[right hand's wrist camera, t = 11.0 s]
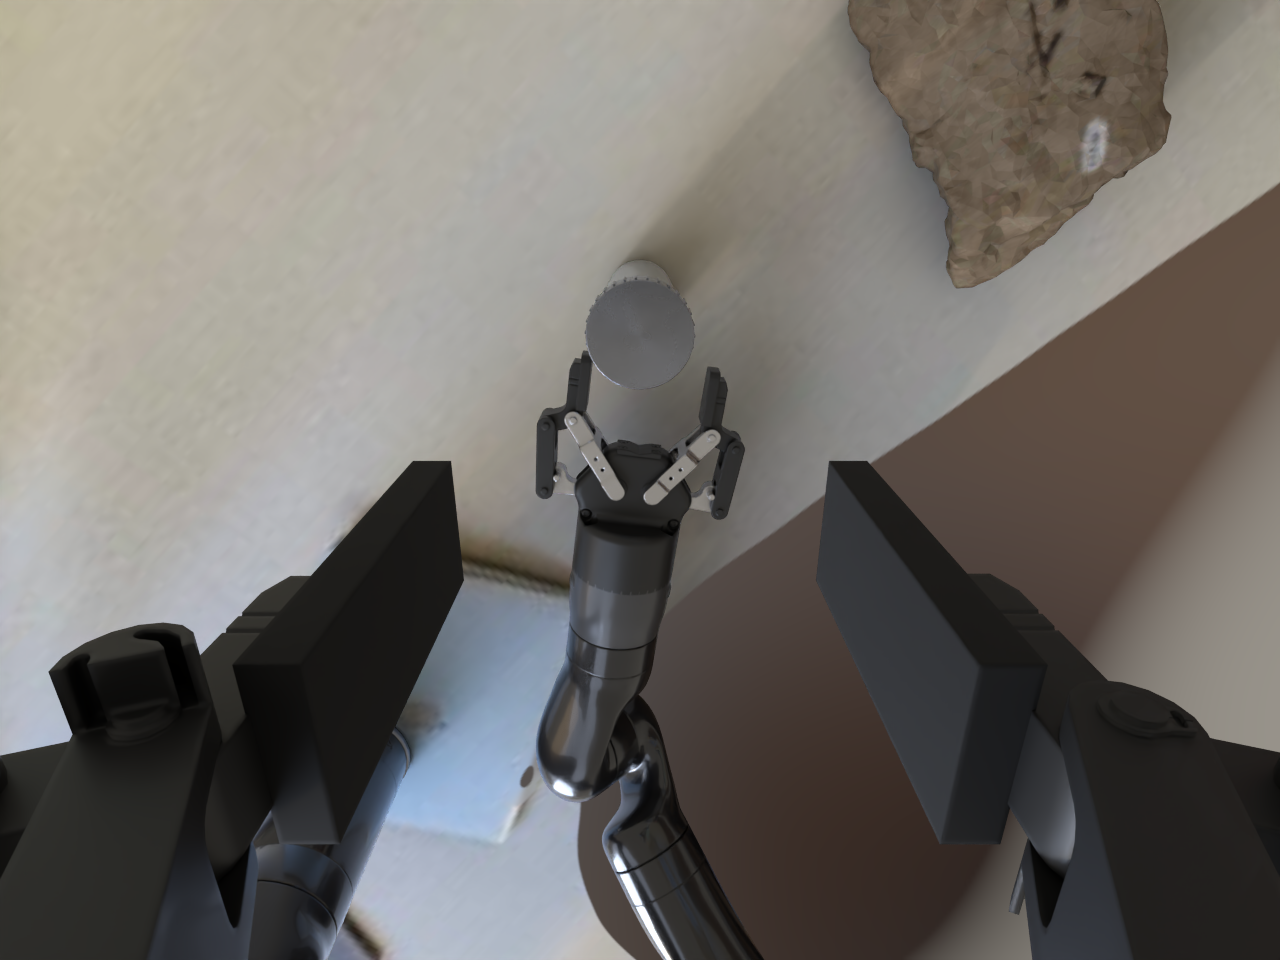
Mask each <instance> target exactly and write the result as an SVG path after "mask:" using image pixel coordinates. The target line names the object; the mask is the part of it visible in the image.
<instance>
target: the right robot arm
mask: <svg viewBox="0 0 1280 960" xmlns="http://www.w3.org/2000/svg"><path fill="white" fill-rule="evenodd" d="M463 581H464V577H463V568H462V558H461V549H460V540H459V531H458V522H457V512H456V503H455V494H454V485H453V476H452V467H451V461H413V462H412V463H411V464H410V465H409V466H408V467H407V468H406V470H405V471H404V472H403V473H402V474H401V475H400V476H399V477H398V479H397V480H396V481H395V482H394V483H393V484H392V485H391V486H390V488H389V489H388V490H387V491H386V492H385V493H384V494H383V495H382V497H381V498H380V499H379V500H378V501H377V502H376V503H375V504H374V506H373V507H372V508H371V509H370V510H369V511H368V512H367V513H366V515H365V516H364V517H363V518H362V519H361V520H360V521H359V522H358V524H357V525H356V526H355V527H354V528H353V529H352V530H351V531H350V533H349V534H348V535H347V536H346V537H345V538H344V539H343V540H342V542H341V543H340V544H339V545H338V546H337V547H336V548H335V549H334V551H333V552H332V553H331V554H330V555H329V556H328V557H327V558H326V560H325V561H324V562H323V563H322V564H321V565H320V566H319V567H318V569H317V570H316V571H315V572H314V573H313V574H312V575H311V576H290V577H288V578H286V579H285V580H283V581H281V582H279V583H278V584H276V585H274V586H272V587H271V588H269V589H267V590H265V591H264V592H262V593H261V594H260V595H259V596H258V597H257V598H256V599H255V600H254V601H253V602H252V603H251V604H250V605H249V606H248V607H247V608H246V609H245V610H244V611H243V612H242V616H238V617H237V618H236V619H235V620H234V621H233V622H232V623H231V624H230V625H229V627H228V628H227V629H226V633H222V634H221V635H220V636H219V637H218V638H217V639H216V640H215V641H214V642H213V643H212V644H211V645H210V646H209V647H208V648H207V649H206V650H205V651H204V652H203V653H202V654H201V655H200V654H199V650H198V647H197V643H196V640H195V636H194V633H193V632H192V631H191V630H189V629H188V628H186V627H185V626H183V625H178V624H170V623H155V624H144V625H137V626H133V627H129V628H126V629H122V630H118V631H114V632H111V633H108V634H106V635H104V636H101V637H99V638H96V639H94V640H91V641H89V642H87V643H84V644H83V645H81V646H80V647H78V648H76V649H75V650H73V651H72V652H70V653H68V654H67V655H65V656H64V657H62V658H61V659H60V660H59V661H58V662H57V663H56V664H55V666H54V667H53V668H52V669H51V670H50V671H49V675H50V677H51V680H52V682H53V685H54V687H55V690H56V693H57V695H58V698H59V700H60V703H61V706H62V708H63V711H64V713H65V716H66V718H67V721H68V724H69V726H70V729H71V731H72V734H73V735H72V737H71V739H70V741H69V742H64V743H60V744H55V745H50V746H45V747H40V748H35V749H30V750H26V751H21V752H16V753H11V754H6V755H1V756H0V960H248V954H249V945H250V937H251V929H252V920H253V912H254V904H255V895H256V887H257V878H258V870H259V866H258V860H257V854H256V850H255V847H254V843H253V838H254V837H255V835H256V834H257V832H258V830H259V829H260V827H261V825H262V824H263V822H264V820H265V819H266V817H267V816H268V814H269V812H270V811H271V813H272V817H273V821H274V825H275V828H276V832H277V836H278V840H279V843H280V844H340V843H341V841H342V839H343V836H344V834H345V832H346V830H347V828H348V826H349V824H350V822H351V819H352V817H353V815H354V813H355V811H356V809H357V807H358V805H359V802H360V800H361V798H362V796H363V794H364V792H365V790H366V787H367V785H368V783H369V781H370V779H371V777H372V775H373V773H374V770H375V768H376V766H377V764H378V762H379V760H380V758H381V756H382V753H383V751H384V749H385V747H386V745H387V743H388V741H389V739H390V736H391V734H392V732H393V730H394V728H395V726H396V724H397V722H398V719H399V717H400V715H401V713H402V711H403V709H404V707H405V704H406V702H407V700H408V698H409V696H410V694H411V692H412V690H413V687H414V685H415V683H416V681H417V679H418V677H419V675H420V673H421V670H422V668H423V666H424V664H425V662H426V660H427V658H428V656H429V653H430V651H431V649H432V647H433V645H434V643H435V641H436V639H437V636H438V634H439V632H440V630H441V628H442V626H443V624H444V621H445V619H446V617H447V615H448V613H449V611H450V609H451V607H452V604H453V602H454V600H455V598H456V596H457V594H458V592H459V590H460V587H461V585H462V583H463ZM816 581H817V583H818V585H819V587H820V590H821V592H822V594H823V596H824V598H825V600H826V602H827V604H828V607H829V609H830V611H831V613H832V615H833V617H834V619H835V621H836V624H837V626H838V628H839V630H840V632H841V634H842V636H843V639H844V641H845V643H846V645H847V647H848V649H849V651H850V653H851V655H852V658H853V660H854V662H855V664H856V666H857V668H858V670H859V673H860V675H861V677H862V679H863V681H864V683H865V685H866V687H867V690H868V692H869V694H870V696H871V698H872V700H873V702H874V704H875V707H876V709H877V711H878V713H879V715H880V717H881V719H882V722H883V724H884V726H885V728H886V730H887V732H888V734H889V736H890V739H891V741H892V743H893V745H894V747H895V749H896V751H897V753H898V756H899V758H900V760H901V762H902V764H903V766H904V768H905V770H906V773H907V775H908V777H909V779H910V781H911V783H912V785H913V787H914V790H915V792H916V794H917V796H918V798H919V800H920V802H921V805H922V807H923V809H924V811H925V813H926V815H927V817H928V819H929V822H930V824H931V826H932V828H933V830H934V832H935V834H936V836H937V838H938V841H939V843H940V844H1000V843H1001V840H1002V836H1003V832H1004V828H1005V825H1006V821H1007V817H1008V813H1009V809H1011V810H1012V812H1013V814H1014V815H1015V817H1016V818H1017V820H1018V822H1019V823H1020V825H1021V827H1022V828H1023V830H1024V831H1025V833H1026V835H1027V836H1028V840H1027V843H1026V847H1025V850H1024V854H1023V858H1022V861H1021V864H1020V868H1019V871H1018V875H1017V878H1016V882H1015V885H1014V889H1013V893H1012V896H1011V901H1010V907H1009V912H1012V913H1015V914H1018V915H1019V913H1020V909H1021V906H1022V902H1023V899H1025V901H1026V910H1027V918H1028V926H1029V935H1030V943H1031V951H1032V960H1280V752H1275V751H1270V750H1265V749H1260V748H1255V747H1251V746H1246V745H1241V744H1236V743H1231V742H1226V741H1221V740H1216V739H1212V738H1210V737H1209V735H1208V734H1207V732H1206V731H1205V730H1204V729H1203V727H1202V726H1201V725H1200V724H1199V722H1198V721H1197V720H1196V719H1195V718H1194V717H1193V716H1192V715H1191V714H1189V713H1188V712H1186V711H1185V710H1184V709H1182V708H1181V707H1179V706H1178V705H1177V704H1175V703H1174V702H1172V701H1170V700H1168V699H1166V698H1164V697H1162V696H1159V695H1157V694H1155V693H1153V692H1151V691H1149V690H1146V689H1143V688H1139V687H1136V686H1133V685H1129V684H1126V683H1122V682H1113V681H1108V680H1107V679H1106V678H1105V677H1104V676H1103V675H1102V674H1101V673H1100V672H1099V671H1098V670H1097V669H1096V668H1095V667H1094V666H1093V665H1092V664H1091V663H1090V662H1089V661H1088V660H1087V659H1086V658H1085V657H1084V656H1083V655H1082V654H1081V653H1080V652H1079V651H1078V650H1077V649H1076V648H1075V647H1074V646H1073V645H1072V644H1071V643H1070V642H1069V641H1068V640H1067V639H1066V638H1065V637H1064V636H1063V635H1062V634H1061V633H1060V632H1059V631H1055V629H1054V625H1053V624H1052V623H1051V622H1050V621H1049V620H1048V619H1047V618H1046V617H1045V616H1044V615H1043V614H1039V613H1038V609H1037V608H1036V607H1035V606H1034V605H1033V604H1032V603H1031V602H1030V601H1029V600H1028V599H1027V598H1026V597H1025V596H1024V595H1023V594H1022V593H1021V592H1020V591H1019V590H1017V589H1016V588H1014V587H1012V586H1010V585H1009V584H1007V583H1005V582H1003V581H1002V580H1000V579H998V578H996V577H995V576H993V575H991V574H967V573H966V572H965V571H964V570H963V569H962V567H961V566H960V565H959V564H958V563H957V562H956V561H955V560H954V558H953V557H952V556H951V555H950V554H949V553H948V552H947V551H946V549H945V548H944V547H943V546H942V545H941V544H940V543H939V542H938V540H937V539H936V538H935V537H934V536H933V535H932V534H931V533H930V532H929V530H928V529H927V528H926V527H925V526H924V525H923V524H922V522H921V521H920V520H919V519H918V518H917V517H916V516H915V515H914V513H913V512H912V511H911V510H910V509H909V508H908V507H907V506H906V504H905V503H904V502H903V501H902V500H901V499H900V498H899V497H898V495H897V494H896V493H895V492H894V491H893V490H892V489H891V488H890V486H889V485H888V484H887V483H886V482H885V481H884V480H883V479H882V477H881V476H880V475H879V474H878V473H877V472H876V471H875V470H874V468H873V467H872V466H871V465H870V464H869V463H868V462H867V461H829V467H828V476H827V485H826V494H825V503H824V513H823V522H822V531H821V540H820V549H819V559H818V568H817V577H816Z"/></svg>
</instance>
